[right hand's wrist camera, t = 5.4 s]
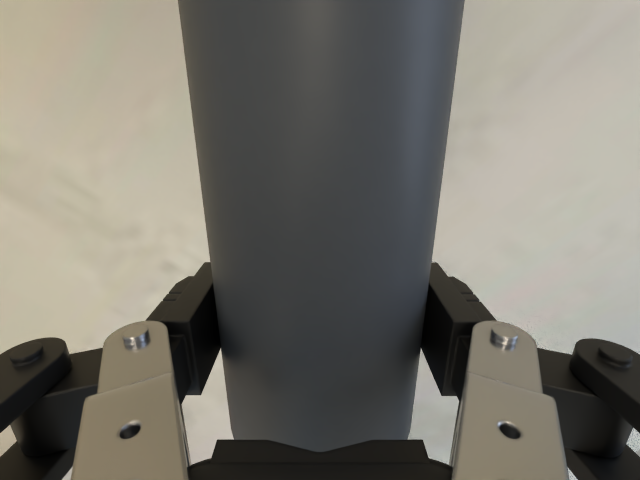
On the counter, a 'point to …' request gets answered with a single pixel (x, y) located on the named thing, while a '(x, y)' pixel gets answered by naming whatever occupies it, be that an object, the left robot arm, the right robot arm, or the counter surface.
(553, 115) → the counter surface
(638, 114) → the counter surface
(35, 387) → the right robot arm
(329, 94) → the rod
